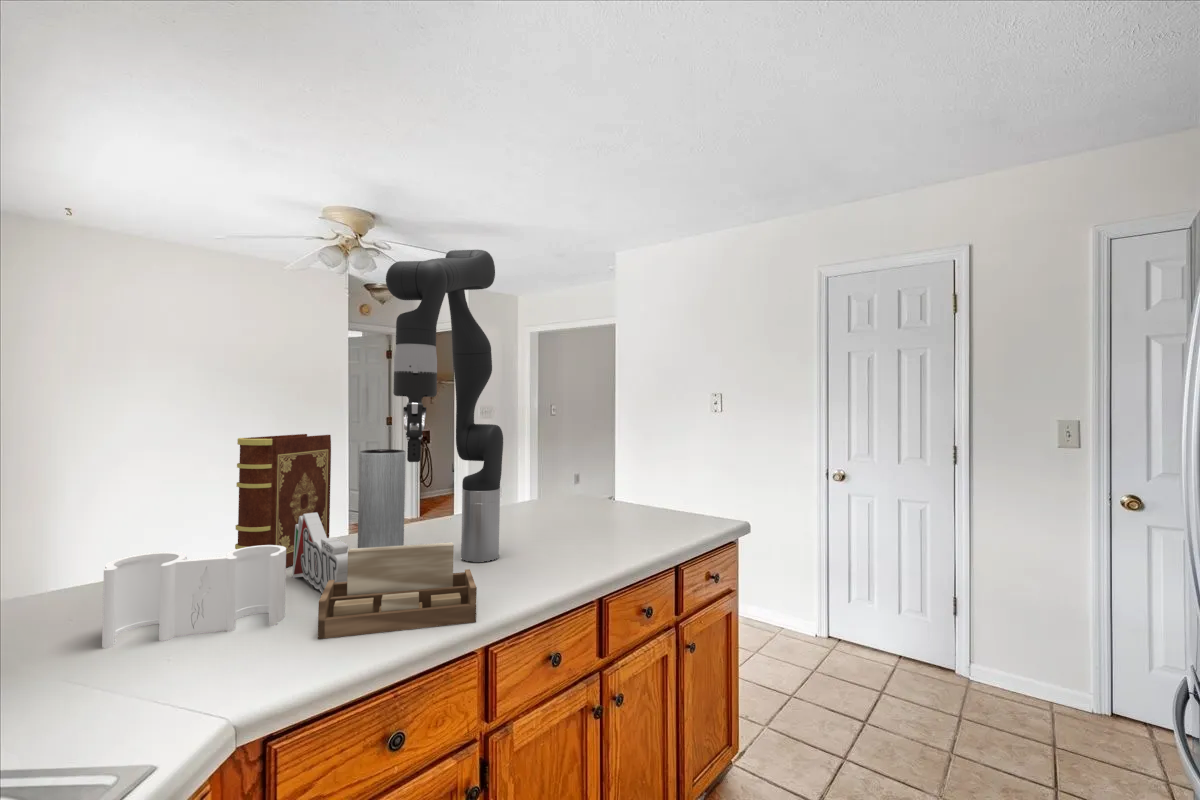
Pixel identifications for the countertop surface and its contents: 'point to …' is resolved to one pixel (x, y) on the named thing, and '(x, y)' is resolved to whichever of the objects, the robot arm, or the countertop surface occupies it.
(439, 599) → the offcut
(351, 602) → the offcut
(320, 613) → the rack
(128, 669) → the countertop surface
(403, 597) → the upper offcut
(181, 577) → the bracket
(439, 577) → the sheet
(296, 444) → the decorative book
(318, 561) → the decorative sign
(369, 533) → the vase
